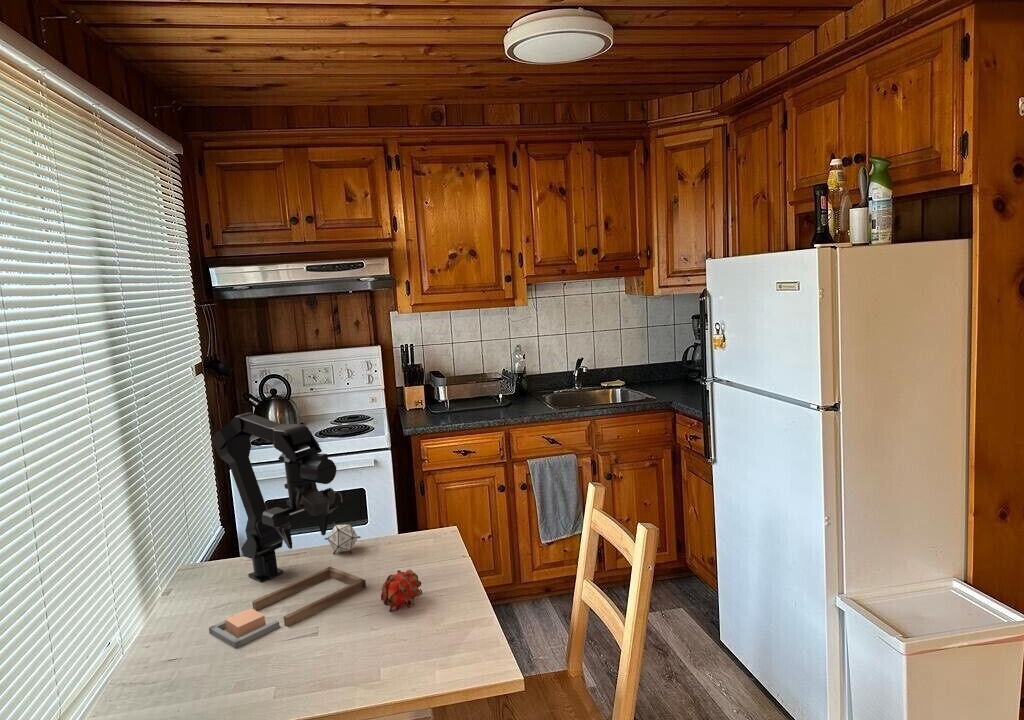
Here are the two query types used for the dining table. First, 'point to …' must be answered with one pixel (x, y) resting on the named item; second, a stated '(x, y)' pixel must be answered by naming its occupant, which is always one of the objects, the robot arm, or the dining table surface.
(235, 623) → the terracotta block
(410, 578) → the dragon fruit
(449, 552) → the dining table surface
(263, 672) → the dining table surface
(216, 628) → the grey bay
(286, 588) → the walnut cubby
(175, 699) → the dining table surface
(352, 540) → the game die
